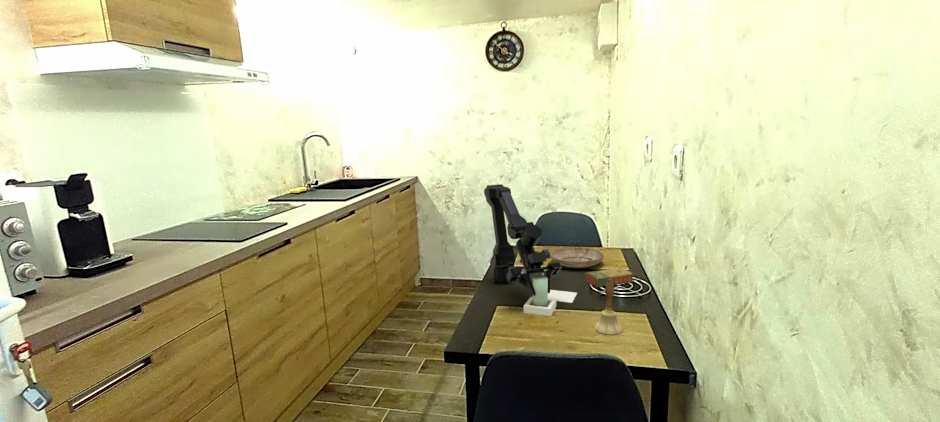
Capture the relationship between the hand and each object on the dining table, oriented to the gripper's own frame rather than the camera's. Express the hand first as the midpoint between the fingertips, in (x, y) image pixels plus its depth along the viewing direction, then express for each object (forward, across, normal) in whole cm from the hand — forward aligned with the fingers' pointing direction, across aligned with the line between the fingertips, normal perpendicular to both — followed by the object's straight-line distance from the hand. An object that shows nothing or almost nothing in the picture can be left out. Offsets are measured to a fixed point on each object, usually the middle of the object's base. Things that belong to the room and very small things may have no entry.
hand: (542, 294), depth 156 cm
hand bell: (+18, +13, -9) cm, 24 cm away
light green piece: (+3, 0, +5) cm, 6 cm away
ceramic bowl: (-26, +39, +35) cm, 58 cm away
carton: (-7, +38, +17) cm, 42 cm away
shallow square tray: (+4, 0, +6) cm, 7 cm away
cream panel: (-2, +12, +11) cm, 17 cm away
